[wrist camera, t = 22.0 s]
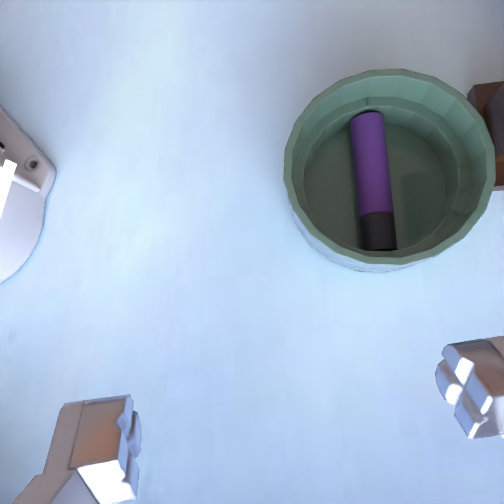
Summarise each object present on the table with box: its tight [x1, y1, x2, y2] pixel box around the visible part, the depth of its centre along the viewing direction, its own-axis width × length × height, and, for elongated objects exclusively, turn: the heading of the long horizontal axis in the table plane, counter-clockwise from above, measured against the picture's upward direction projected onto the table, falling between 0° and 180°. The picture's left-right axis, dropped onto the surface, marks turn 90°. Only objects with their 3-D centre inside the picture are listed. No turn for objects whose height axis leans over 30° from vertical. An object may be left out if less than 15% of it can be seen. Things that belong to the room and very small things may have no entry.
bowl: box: [283, 69, 496, 272], centre depth 32 cm, size 15×15×6 cm
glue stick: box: [350, 112, 398, 251], centre depth 33 cm, size 12×3×3 cm, turn 3°
